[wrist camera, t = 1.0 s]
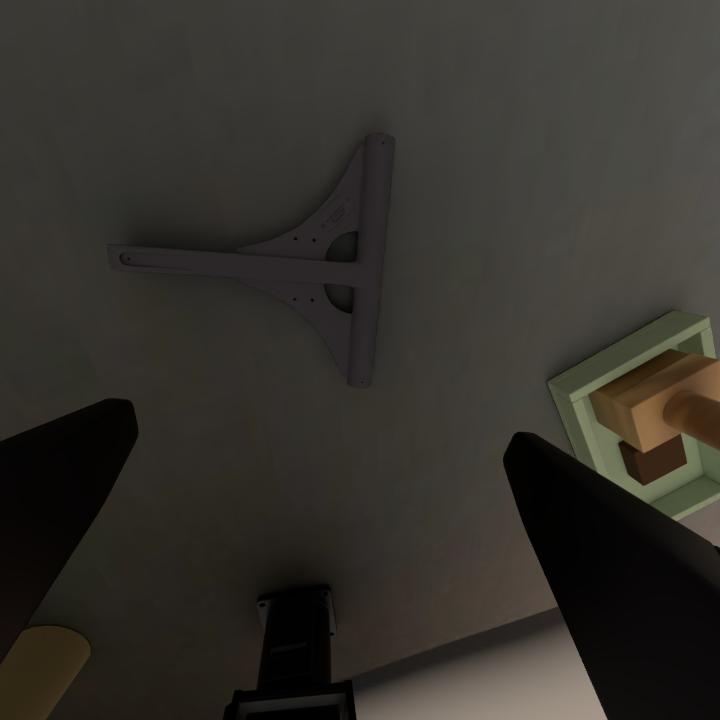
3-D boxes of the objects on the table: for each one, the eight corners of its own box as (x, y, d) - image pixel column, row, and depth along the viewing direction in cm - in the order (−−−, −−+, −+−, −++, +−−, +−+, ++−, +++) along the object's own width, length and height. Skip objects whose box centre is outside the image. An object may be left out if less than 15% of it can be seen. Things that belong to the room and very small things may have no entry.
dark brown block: (669, 452, 28) (688, 463, 26) (627, 475, 28) (643, 486, 27) (661, 419, 26) (680, 428, 25) (617, 442, 27) (633, 453, 25)
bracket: (104, 106, 16) (63, 78, 13) (391, 144, 18) (403, 127, 15) (144, 371, 21) (119, 389, 18) (369, 378, 23) (375, 395, 20)
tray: (705, 472, 30) (736, 490, 28) (603, 525, 31) (625, 547, 28) (672, 309, 24) (710, 316, 22) (546, 381, 24) (569, 395, 22)
